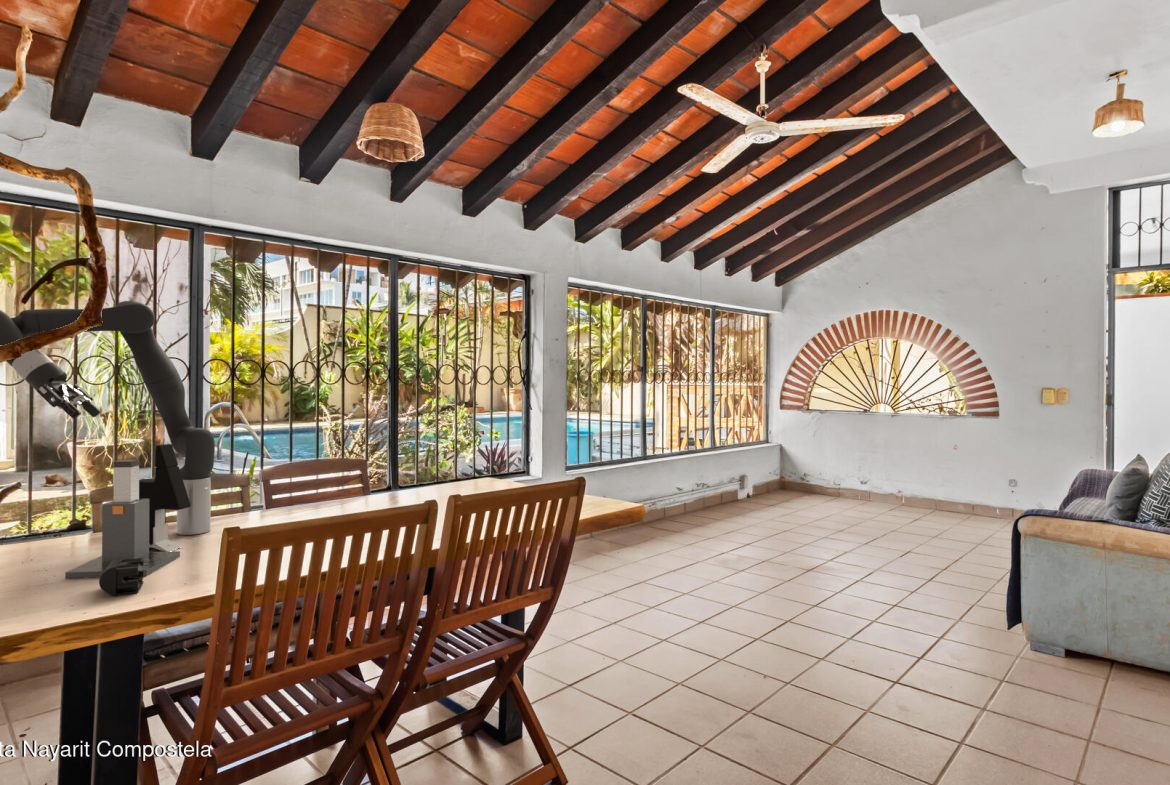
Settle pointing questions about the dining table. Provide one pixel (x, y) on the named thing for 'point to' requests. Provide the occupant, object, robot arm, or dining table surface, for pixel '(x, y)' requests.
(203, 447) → the robot arm
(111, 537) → the stand
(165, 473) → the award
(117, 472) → the column
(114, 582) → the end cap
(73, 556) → the dining table surface
